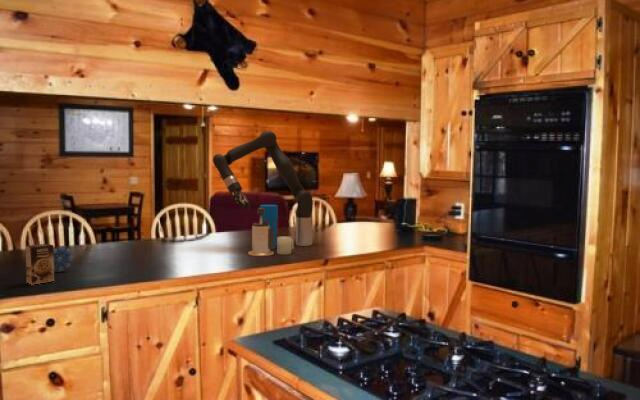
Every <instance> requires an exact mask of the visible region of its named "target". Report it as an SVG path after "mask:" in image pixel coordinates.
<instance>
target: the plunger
mask: <svg viewBox="0 0 640 400" xmlns="http://www.w3.org/2000/svg"><path fill="white" fill-rule="evenodd" d="M262 214H265V208H260V207H258V208H257V215H259V223H260V224H262Z"/></svg>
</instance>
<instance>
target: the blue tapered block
mask: <svg viewBox="0 0 640 400" xmlns="http://www.w3.org/2000/svg"><path fill="white" fill-rule="evenodd" d="M278 206H279V205H277V204H261V205H259V208H265V214H262V223H269V225H270V229H274V249H277V237H279V234H278V233H279V219H278V218H279V213H278V212H279V207H278Z"/></svg>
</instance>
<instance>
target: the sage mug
mask: <svg viewBox="0 0 640 400" xmlns="http://www.w3.org/2000/svg"><path fill="white" fill-rule="evenodd" d="M294 243H295V242H294V239H293V238H292V236H289V235H288V236H284V235H282V236H280V235H279V236H278V237H277V248H276V254H277V255H291V254H292V250H294Z"/></svg>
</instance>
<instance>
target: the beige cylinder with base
mask: <svg viewBox="0 0 640 400" xmlns="http://www.w3.org/2000/svg"><path fill="white" fill-rule="evenodd" d="M251 231H252V232H251V236H252V237H251V249H252V250H251V251H248V253H247V254H248V255H249V256H253V257H268V256H273V255H274V254H275V253H274V251H273V250H275V248H274V229H270V225H269V223H262V224H260V222H254V223H252V228H251Z"/></svg>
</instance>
